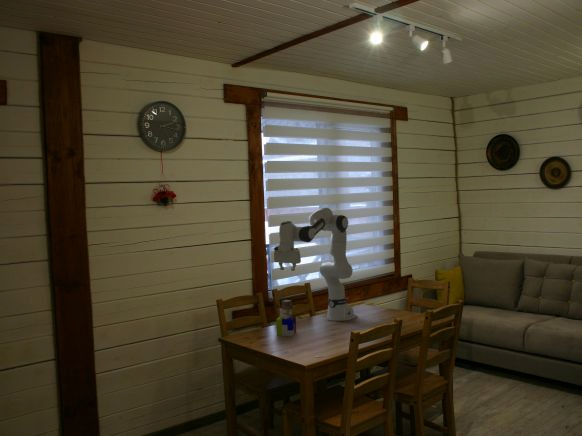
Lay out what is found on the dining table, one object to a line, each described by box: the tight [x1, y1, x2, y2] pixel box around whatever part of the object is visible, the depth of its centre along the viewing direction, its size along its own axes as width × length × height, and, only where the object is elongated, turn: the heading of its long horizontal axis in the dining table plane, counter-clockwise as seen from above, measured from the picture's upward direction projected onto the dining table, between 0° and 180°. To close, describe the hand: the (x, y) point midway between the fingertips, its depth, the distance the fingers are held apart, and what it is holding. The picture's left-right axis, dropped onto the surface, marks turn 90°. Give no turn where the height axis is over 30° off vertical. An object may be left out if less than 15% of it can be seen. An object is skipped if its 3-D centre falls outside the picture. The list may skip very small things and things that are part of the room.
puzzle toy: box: [275, 315, 297, 337], centre depth 319 cm, size 10×10×10 cm
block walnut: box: [281, 299, 293, 310], centre depth 319 cm, size 4×4×5 cm
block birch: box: [279, 308, 293, 319], centre depth 319 cm, size 5×5×6 cm
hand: (287, 270), depth 319 cm, fingers open, 8 cm apart
